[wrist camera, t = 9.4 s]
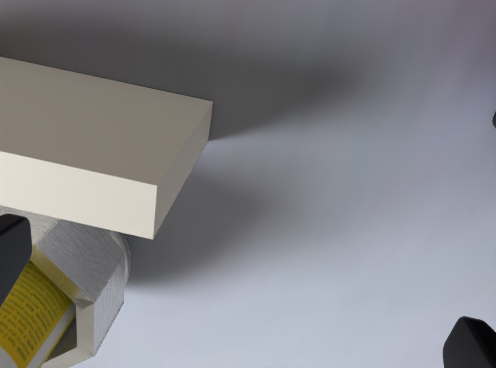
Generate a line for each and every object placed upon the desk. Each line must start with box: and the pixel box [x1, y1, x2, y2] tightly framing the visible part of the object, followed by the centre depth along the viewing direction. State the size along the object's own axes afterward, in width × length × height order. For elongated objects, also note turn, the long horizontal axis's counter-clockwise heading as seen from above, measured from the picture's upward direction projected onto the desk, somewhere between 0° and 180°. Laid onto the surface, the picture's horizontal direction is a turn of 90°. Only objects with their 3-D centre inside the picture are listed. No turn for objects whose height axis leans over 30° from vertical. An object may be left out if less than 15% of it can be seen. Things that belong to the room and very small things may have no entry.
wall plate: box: [0, 57, 213, 239], centre depth 17 cm, size 14×2×8 cm, turn 80°
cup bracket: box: [0, 205, 132, 368], centre depth 21 cm, size 8×11×4 cm
